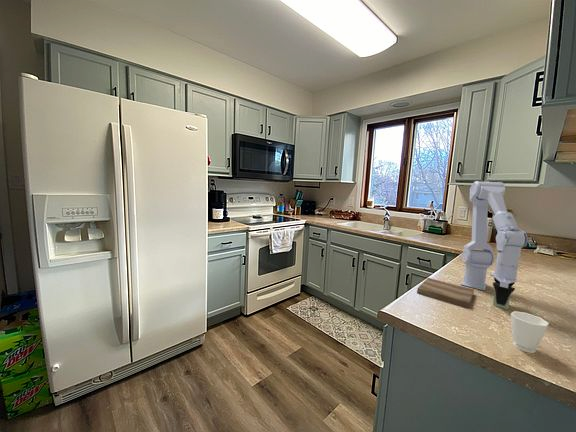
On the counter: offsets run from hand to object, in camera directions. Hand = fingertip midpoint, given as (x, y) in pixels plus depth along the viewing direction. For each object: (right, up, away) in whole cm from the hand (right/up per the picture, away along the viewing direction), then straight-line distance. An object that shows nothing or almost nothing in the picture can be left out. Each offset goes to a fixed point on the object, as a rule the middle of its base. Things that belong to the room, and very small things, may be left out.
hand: (500, 301), depth 86 cm
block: (0, -1, 0) cm, 2 cm away
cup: (-14, -4, -22) cm, 27 cm away
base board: (-15, 0, +8) cm, 17 cm away
